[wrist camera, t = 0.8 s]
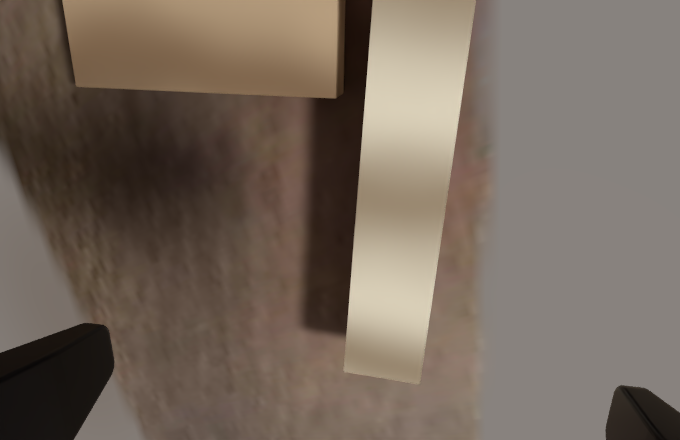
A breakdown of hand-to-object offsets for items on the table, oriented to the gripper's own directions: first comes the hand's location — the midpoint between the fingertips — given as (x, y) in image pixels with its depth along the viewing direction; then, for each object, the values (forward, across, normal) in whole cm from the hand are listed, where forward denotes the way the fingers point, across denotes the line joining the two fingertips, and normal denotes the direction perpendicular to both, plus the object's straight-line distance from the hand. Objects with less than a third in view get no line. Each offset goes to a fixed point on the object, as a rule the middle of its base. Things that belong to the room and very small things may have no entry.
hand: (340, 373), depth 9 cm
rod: (+12, 0, 0) cm, 12 cm away
